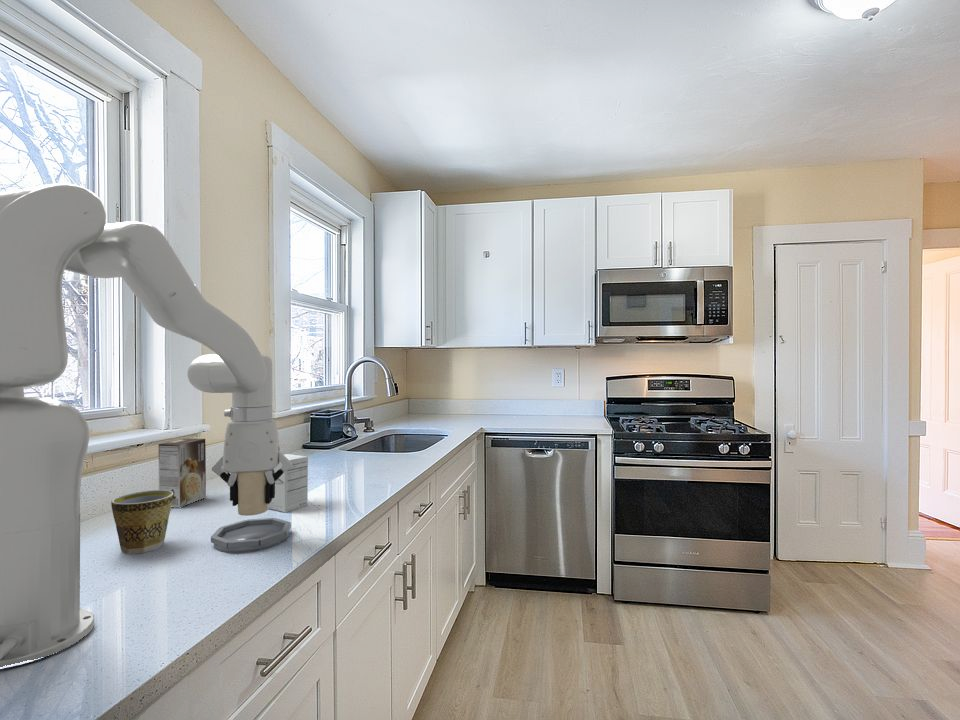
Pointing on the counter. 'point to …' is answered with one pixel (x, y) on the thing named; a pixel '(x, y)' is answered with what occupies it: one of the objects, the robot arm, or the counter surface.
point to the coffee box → (183, 470)
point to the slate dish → (251, 535)
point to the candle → (251, 493)
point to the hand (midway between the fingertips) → (252, 502)
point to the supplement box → (291, 485)
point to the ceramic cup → (142, 519)
